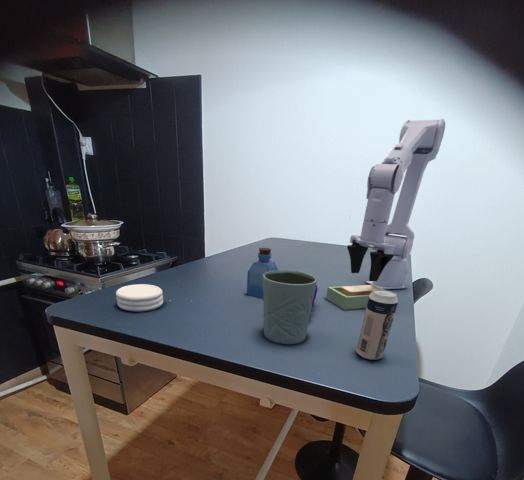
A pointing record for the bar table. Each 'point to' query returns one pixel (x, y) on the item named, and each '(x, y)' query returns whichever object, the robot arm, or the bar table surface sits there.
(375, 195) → the robot arm
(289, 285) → the green embossed cup
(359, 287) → the eraser
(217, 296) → the bar table surface
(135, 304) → the coaster
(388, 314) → the beer can
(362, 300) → the eraser holder
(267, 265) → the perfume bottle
